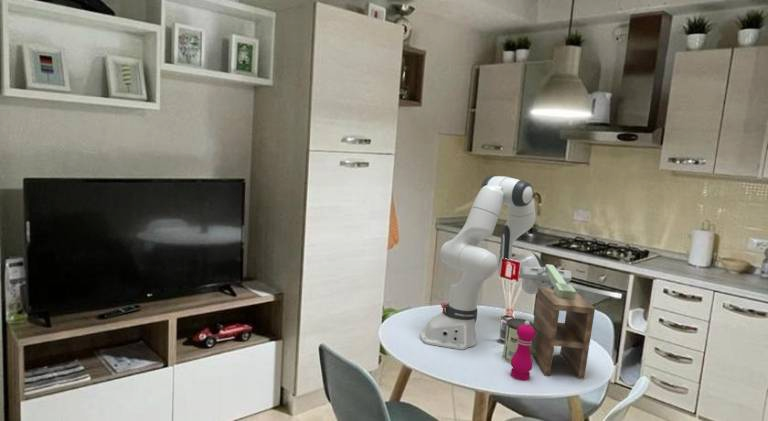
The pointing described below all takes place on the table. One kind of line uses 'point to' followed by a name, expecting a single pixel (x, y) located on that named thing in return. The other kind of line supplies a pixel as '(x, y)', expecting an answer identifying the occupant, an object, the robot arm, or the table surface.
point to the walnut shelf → (562, 331)
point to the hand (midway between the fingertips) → (551, 269)
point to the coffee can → (513, 338)
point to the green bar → (560, 284)
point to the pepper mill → (523, 352)
